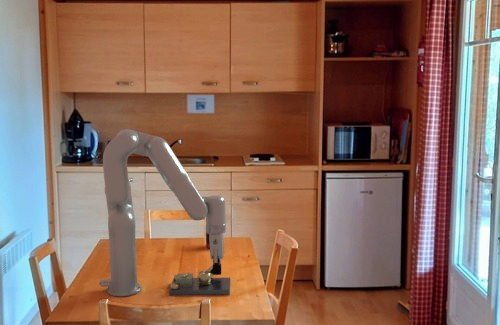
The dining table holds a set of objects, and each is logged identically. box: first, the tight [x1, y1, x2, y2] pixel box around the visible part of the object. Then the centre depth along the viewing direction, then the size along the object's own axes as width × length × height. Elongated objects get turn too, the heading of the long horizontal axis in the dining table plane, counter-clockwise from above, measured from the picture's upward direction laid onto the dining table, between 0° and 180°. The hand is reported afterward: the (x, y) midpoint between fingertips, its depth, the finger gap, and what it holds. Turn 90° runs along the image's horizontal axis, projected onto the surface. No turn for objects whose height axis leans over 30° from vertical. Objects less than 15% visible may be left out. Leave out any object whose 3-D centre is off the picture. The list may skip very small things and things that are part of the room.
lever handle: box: [197, 265, 214, 285], centre depth 217 cm, size 12×5×4 cm, turn 166°
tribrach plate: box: [168, 273, 231, 297], centre depth 213 cm, size 22×13×6 cm, turn 91°
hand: (217, 274), depth 220 cm, fingers closed
